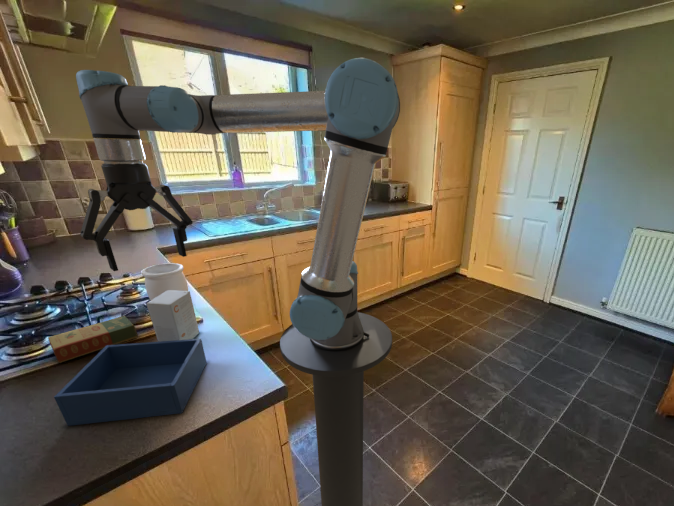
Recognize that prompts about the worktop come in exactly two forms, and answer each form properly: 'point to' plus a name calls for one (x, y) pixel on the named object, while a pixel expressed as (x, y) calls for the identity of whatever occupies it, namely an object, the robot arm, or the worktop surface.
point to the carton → (92, 338)
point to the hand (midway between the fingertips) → (150, 262)
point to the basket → (133, 382)
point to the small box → (173, 316)
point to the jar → (164, 279)
